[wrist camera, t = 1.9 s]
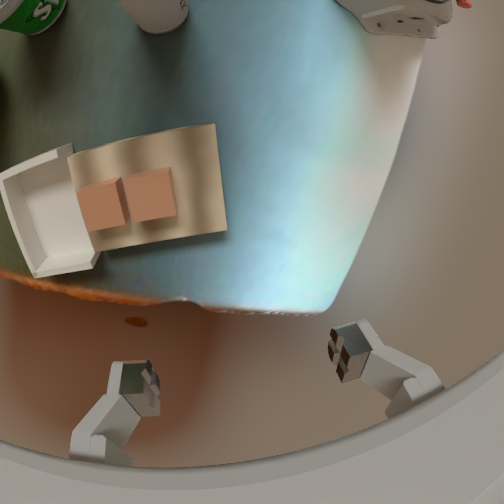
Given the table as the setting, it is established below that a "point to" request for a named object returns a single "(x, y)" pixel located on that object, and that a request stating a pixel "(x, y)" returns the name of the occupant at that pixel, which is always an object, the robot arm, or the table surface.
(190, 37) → the table surface
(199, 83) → the table surface
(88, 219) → the tile
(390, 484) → the robot arm
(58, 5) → the soda can
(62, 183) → the tray
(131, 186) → the tile
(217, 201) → the beige flat panel
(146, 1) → the travel mug
